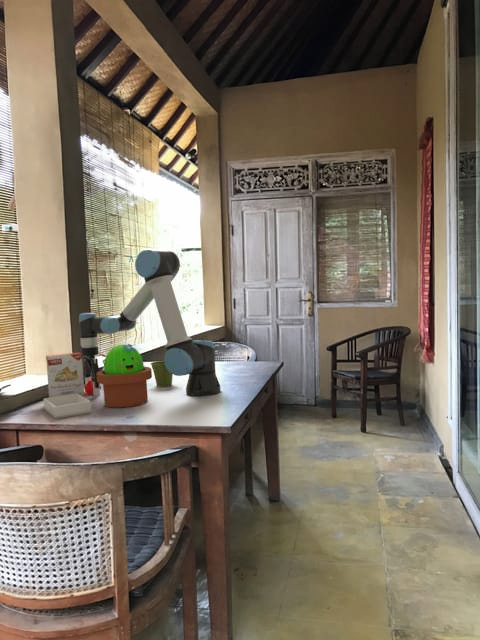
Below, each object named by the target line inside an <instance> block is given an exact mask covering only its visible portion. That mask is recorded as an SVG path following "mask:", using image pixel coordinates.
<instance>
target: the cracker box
mask: <svg viewBox="0 0 480 640" xmlns="http://www.w3.org/2000/svg"><path fill="white" fill-rule="evenodd" d="M45 361H46V372H47V373H46V374H47V386H48V387H47V389H48V398H50V397H56V396H63V395H69V394H75V393H77V394H79V395H81V396H82V397H84V398H86V397H85V387H84V386H85V384H84V375H83V374H84V365H83V356H82V353H81V352H69V353H59V354H49V355H46V356H45Z"/></svg>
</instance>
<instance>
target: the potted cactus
mask: <svg viewBox="0 0 480 640" xmlns="http://www.w3.org/2000/svg"><path fill="white" fill-rule="evenodd" d="M152 372H153V369H152V367H150V366H146V365H144V360H143V357H142V355H141V353H140V352H139V351H138V350H137V348H135V347H133V344H129V343H125V344H118V345H115V346H113V347H112V348H111V349H110V350H108V352H107V353H106V355H105V358H104V362H103V370H99V372H97V382H98V383H100V385H102V386H103V401H104V405H105V406H106V407H109V408H115V409H116V408H117V409H119V408H120V409H121V408H129V407H130V406H131V407H135V405H136V406H139V405H140V406H141V405H143V404H145V403H147V402H148V400H149V397H148V383H147V382H148V380H150V379H152V377H153V373H152Z"/></svg>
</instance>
